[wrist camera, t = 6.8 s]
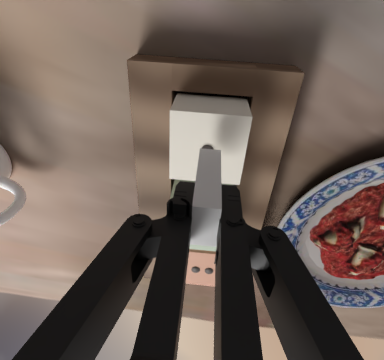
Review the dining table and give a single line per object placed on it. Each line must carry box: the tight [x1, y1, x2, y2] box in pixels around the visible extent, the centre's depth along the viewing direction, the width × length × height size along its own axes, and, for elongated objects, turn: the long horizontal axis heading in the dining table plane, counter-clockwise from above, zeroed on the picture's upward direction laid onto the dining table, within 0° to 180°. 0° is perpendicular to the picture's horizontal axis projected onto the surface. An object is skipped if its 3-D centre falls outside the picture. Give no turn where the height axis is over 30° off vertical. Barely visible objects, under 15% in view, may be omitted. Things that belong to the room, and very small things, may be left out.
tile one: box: [169, 93, 252, 185], centre depth 22 cm, size 6×6×4 cm
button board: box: [127, 54, 305, 278], centre depth 30 cm, size 28×14×3 cm, turn 177°
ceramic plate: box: [277, 157, 384, 308], centre depth 32 cm, size 26×26×3 cm
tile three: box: [185, 249, 216, 287], centre depth 33 cm, size 6×6×4 cm
